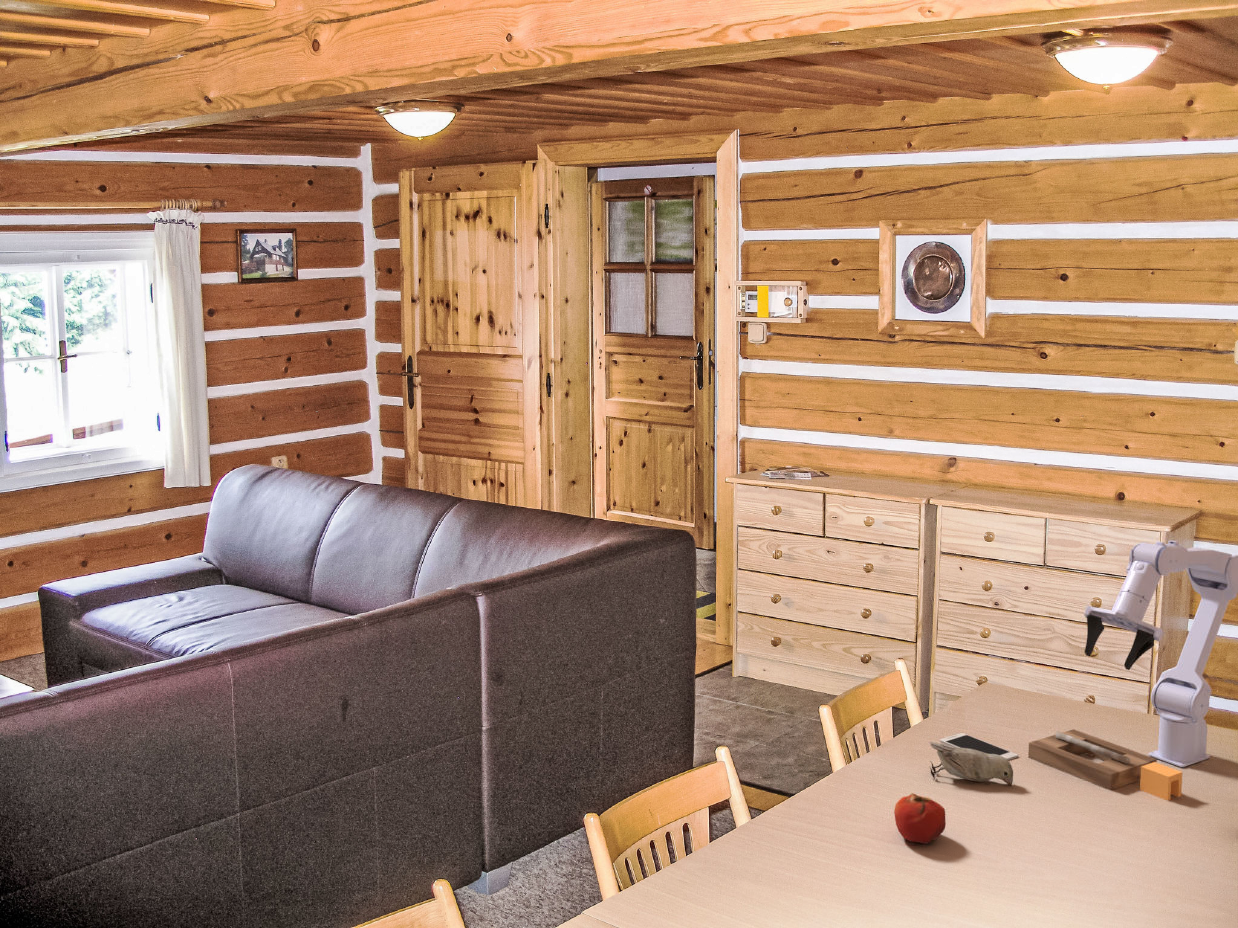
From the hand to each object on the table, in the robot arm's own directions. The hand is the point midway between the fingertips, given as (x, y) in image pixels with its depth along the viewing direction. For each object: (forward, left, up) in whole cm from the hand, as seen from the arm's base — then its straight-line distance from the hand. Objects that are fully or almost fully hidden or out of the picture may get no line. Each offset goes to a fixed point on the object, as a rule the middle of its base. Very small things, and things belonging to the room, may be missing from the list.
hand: (1106, 660), depth 239 cm
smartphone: (+2, -29, -27) cm, 39 cm away
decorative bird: (+16, -18, -27) cm, 36 cm away
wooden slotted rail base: (-10, -10, -26) cm, 30 cm away
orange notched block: (-10, +6, -27) cm, 29 cm away
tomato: (+43, -5, -27) cm, 51 cm away
